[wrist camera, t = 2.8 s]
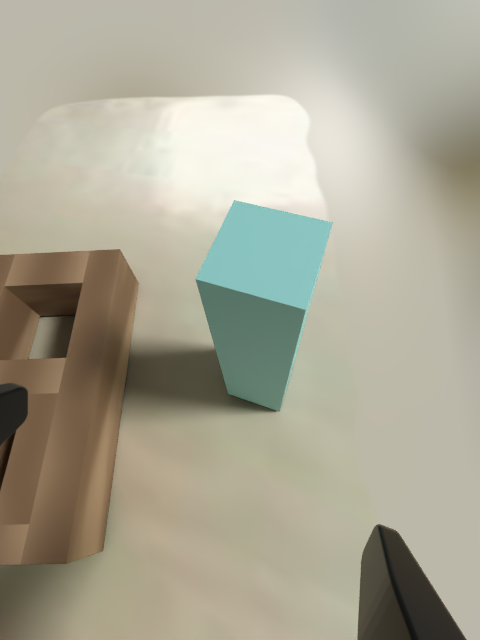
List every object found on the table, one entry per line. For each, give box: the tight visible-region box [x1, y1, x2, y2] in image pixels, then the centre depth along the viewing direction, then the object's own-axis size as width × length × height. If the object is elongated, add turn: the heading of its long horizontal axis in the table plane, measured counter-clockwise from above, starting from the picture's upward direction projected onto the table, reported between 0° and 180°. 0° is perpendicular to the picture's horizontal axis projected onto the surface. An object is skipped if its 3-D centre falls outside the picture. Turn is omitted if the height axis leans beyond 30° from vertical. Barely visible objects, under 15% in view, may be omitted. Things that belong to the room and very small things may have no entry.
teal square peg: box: [196, 200, 332, 411], centre depth 17 cm, size 3×3×13 cm
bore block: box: [0, 249, 139, 565], centre depth 21 cm, size 9×17×4 cm, turn 1°
